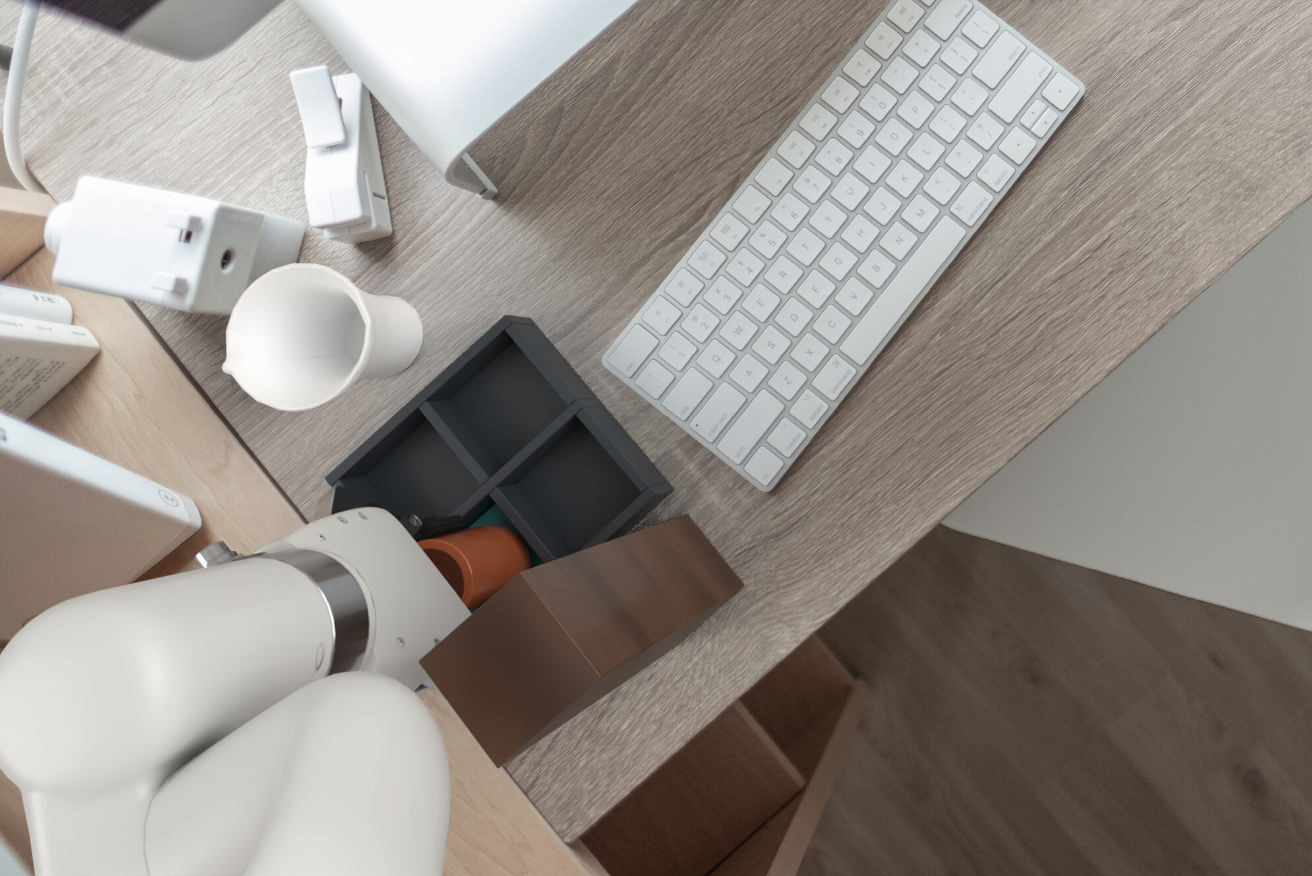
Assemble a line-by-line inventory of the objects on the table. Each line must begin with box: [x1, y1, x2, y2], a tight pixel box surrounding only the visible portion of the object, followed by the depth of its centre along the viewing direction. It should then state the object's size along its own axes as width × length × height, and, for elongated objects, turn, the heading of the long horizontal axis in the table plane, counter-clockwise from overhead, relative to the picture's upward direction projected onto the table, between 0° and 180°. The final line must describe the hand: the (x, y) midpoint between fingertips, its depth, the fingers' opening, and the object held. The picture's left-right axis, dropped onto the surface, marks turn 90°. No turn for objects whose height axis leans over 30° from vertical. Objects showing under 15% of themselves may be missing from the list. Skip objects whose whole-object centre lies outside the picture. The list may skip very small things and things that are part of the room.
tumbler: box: [416, 524, 531, 608], centre depth 71 cm, size 5×5×8 cm
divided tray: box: [324, 314, 675, 568], centre depth 76 cm, size 15×15×4 cm
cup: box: [221, 262, 424, 413], centre depth 74 cm, size 9×9×10 cm
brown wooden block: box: [419, 513, 745, 769], centre depth 64 cm, size 6×6×24 cm
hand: (471, 572), depth 72 cm, fingers closed on tumbler, 5 cm apart
